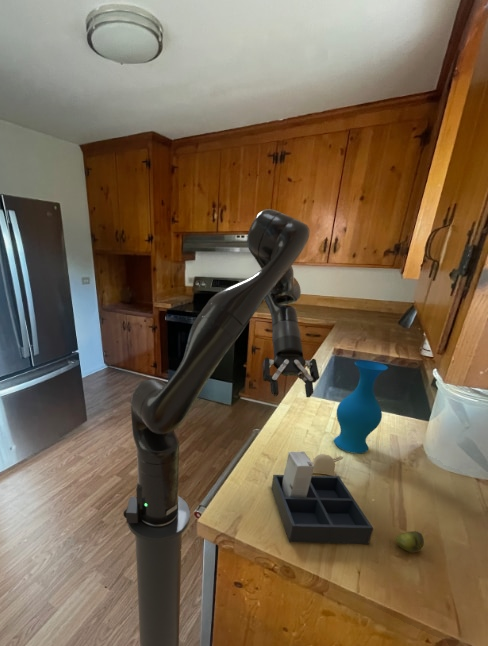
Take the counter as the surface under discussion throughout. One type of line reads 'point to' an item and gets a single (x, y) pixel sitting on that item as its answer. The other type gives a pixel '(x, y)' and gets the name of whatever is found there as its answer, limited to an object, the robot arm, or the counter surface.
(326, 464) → the decorative ornament
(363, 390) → the vase
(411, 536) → the lime
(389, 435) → the counter surface
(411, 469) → the counter surface
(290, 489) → the cosmetic box
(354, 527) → the grid
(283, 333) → the robot arm
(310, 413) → the counter surface
